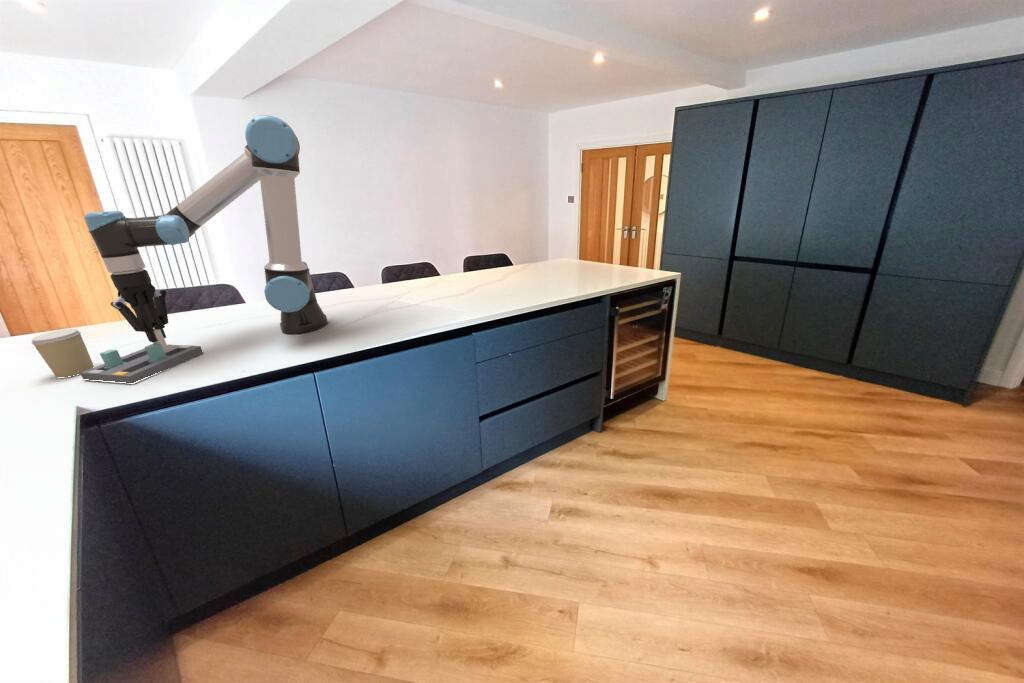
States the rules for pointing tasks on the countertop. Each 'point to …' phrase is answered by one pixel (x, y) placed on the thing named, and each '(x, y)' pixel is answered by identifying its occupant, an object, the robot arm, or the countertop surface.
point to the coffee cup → (64, 352)
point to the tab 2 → (155, 353)
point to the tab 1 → (111, 359)
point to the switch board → (142, 364)
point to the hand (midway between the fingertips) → (162, 350)
